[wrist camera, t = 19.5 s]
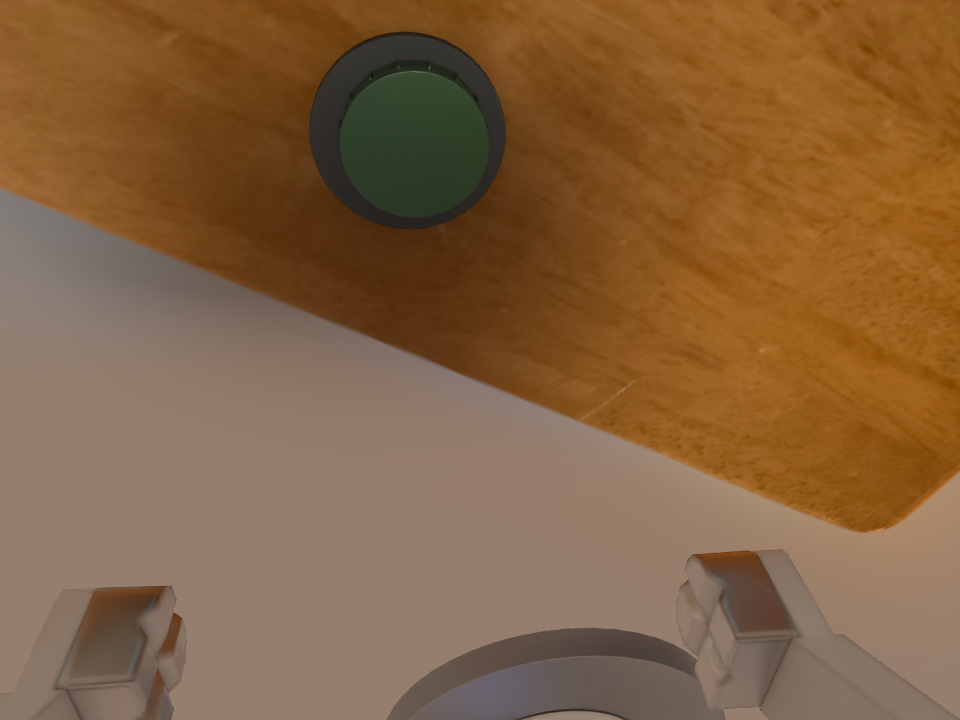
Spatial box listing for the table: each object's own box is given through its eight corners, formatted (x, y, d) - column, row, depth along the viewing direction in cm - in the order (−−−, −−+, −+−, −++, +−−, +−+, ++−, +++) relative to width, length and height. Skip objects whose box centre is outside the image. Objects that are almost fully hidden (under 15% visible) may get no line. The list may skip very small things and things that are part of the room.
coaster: (442, 253, 34) (443, 258, 33) (279, 169, 31) (277, 174, 30) (540, 100, 30) (543, 104, 30) (366, -12, 27) (365, -9, 27)
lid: (488, 60, 29) (493, 71, 27) (482, 202, 32) (486, 218, 31) (335, 57, 28) (333, 68, 27) (345, 202, 31) (343, 219, 30)
